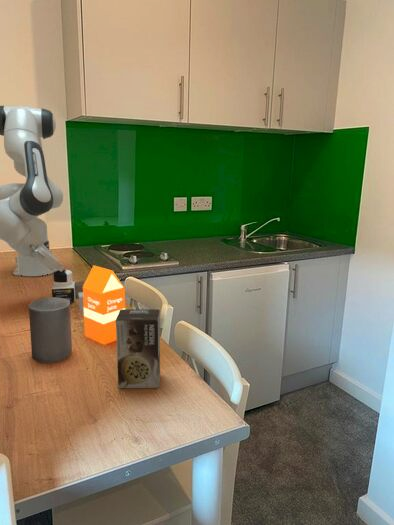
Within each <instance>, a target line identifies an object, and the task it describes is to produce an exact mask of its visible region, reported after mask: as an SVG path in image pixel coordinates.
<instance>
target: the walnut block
mask: <svg viewBox="0 0 394 525" xmlns="http://www.w3.org/2000/svg"><path fill="white" fill-rule="evenodd" d="M85 281H86V280H77V281H74V282H75V299H77V300H79V297H78V293H79V292H83V288H82V287H83V285H84V283H85Z"/></svg>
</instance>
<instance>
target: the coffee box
mask: <svg viewBox="0 0 394 525" xmlns="http://www.w3.org/2000/svg"><path fill="white" fill-rule="evenodd" d="M160 310H161V309H157V308H156V309H155V308H154V309H150V308H149V309H141V308H140V309H137V308H136V309H133V308H132V309H126V308H125V310H120V312H119V314H118V316H117V318H116V339H117V340H116V360H117V361H116V363H117V364H116V365H117V388H118V389H159V387H160V382H161V332H160V331H161V329H160V328H161V327H160V326H161V325H160V324H161V322H160V321H161V320H160V319H161V316H160V314H161V313H160V312H161V311H160Z"/></svg>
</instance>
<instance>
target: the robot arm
mask: <svg viewBox="0 0 394 525" xmlns="http://www.w3.org/2000/svg"><path fill="white" fill-rule="evenodd" d="M56 123H57V122H56V119H55V116H54V115H53V113H52V111H51V110H49V109H46V108H43V107H42V108H38V107H32V106H24V105H23V106H19V105H18V106H16V105H14V106H13V105H12V106H10V105H9V106H8V105H7V106H5V105H0V136H3V147H4V151H5V154H6V155H7V156H8V157H9V158H10V159H11V160H13V168H14V170H15V171H16V172H17V174H19V175H21V176H23V177H25V182H24V183H19V182H18V183H7V184H2V185H1V186H0V240H1V241H3V242H6V243H7V244H8V245H9V247H10V248H11V249H12V250H14V251H15V252H17V253H18V254H17V255H16V257H15V263H16V266H15V268H14V270H13V272H12V274H14V275H13V276H21V275H22V277H41V276H42V275H43V276H47V274H48V275H51V274H53V273H54V272H55V271H57V270H59V271H60V272H62V271H63V270H65V266H64V265H62V264H61V262H60V261H59V259H58V258H57V257H56V256H55V255H54V253H53V252H52V251H51V250H50V241H49V238H48V225H47V223H46V222H45V220H43V219H41V218H39V216H41V215H43V214H46V213H48V212H49V211H50V210H52V209H57V208H60V206H62V203H63V201H64V194H63V191H62V189H61V188H60V187H59V186H58V185H57V184H55V183H54V182H53V181H52V180H51V179H50V177H49V176H48V174H47V173H48V172H47V169H46V160H45V155H44V151H43V142H42V139H43V140H46V139H48V138H51V137H53V135H54V133H55V131H56V127H57V124H56ZM41 138H42V139H41Z"/></svg>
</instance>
